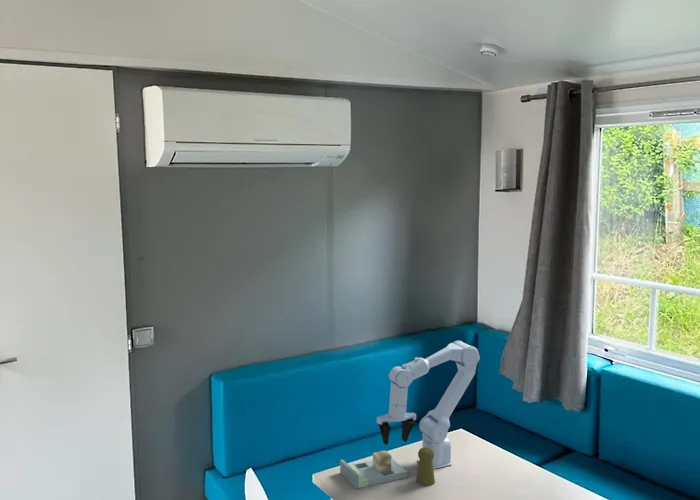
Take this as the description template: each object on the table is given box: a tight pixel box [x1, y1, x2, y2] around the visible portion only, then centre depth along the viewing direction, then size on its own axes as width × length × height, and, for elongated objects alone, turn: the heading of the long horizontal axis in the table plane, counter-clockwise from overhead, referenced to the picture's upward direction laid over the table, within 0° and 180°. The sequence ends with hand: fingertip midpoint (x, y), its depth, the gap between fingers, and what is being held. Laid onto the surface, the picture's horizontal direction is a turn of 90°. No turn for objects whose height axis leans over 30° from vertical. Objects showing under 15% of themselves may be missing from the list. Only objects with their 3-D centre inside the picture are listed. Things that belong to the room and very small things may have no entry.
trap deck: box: [339, 457, 408, 490], centre depth 206 cm, size 19×12×4 cm, turn 115°
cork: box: [415, 447, 436, 487], centre depth 201 cm, size 6×6×11 cm
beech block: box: [372, 450, 392, 472], centre depth 207 cm, size 5×5×5 cm
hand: (394, 442), depth 208 cm, fingers open, 7 cm apart
